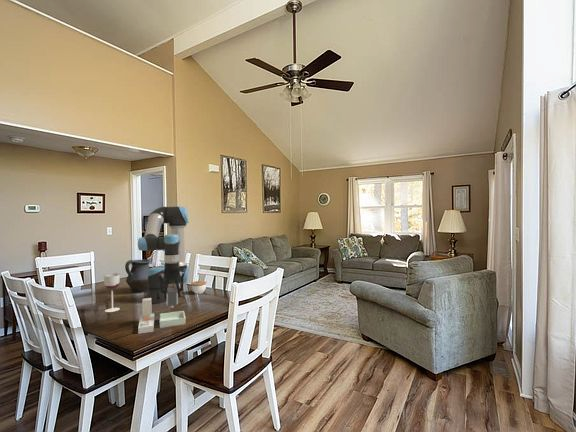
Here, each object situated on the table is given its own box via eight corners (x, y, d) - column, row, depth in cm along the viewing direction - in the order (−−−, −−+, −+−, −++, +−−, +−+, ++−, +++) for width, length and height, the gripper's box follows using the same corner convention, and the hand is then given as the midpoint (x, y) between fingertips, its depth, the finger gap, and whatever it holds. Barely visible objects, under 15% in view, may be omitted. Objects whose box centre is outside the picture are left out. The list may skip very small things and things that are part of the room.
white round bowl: (193, 291, 232) (193, 279, 232) (207, 290, 233) (207, 278, 233) (189, 295, 221) (189, 282, 221) (204, 294, 222) (204, 282, 222)
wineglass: (103, 313, 183) (103, 277, 183) (104, 308, 192) (104, 274, 191) (120, 310, 187) (119, 275, 187) (120, 306, 196) (120, 272, 195)
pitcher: (161, 289, 236) (160, 257, 236) (134, 296, 218) (133, 262, 217) (145, 286, 247) (145, 255, 247) (118, 292, 229) (118, 259, 228)
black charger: (167, 306, 169) (167, 289, 169) (176, 305, 171) (176, 288, 171) (168, 308, 165) (167, 291, 165) (176, 307, 166) (176, 290, 166)
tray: (159, 328, 160) (159, 321, 160) (159, 319, 172) (159, 313, 172) (185, 324, 165) (185, 318, 165) (184, 316, 177) (183, 310, 177)
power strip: (141, 316, 177) (141, 309, 177) (154, 315, 179) (154, 308, 179) (138, 333, 153) (138, 325, 153) (153, 331, 155) (153, 323, 155)
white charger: (143, 315, 171) (142, 298, 170) (151, 314, 172) (151, 297, 172) (142, 318, 166) (142, 301, 166) (151, 317, 168) (151, 300, 168)
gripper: (154, 264, 161) (155, 308, 161) (188, 262, 167) (189, 304, 168) (154, 262, 168) (155, 304, 168) (187, 260, 174) (188, 300, 175)
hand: (172, 304), depth 168 cm, fingers closed on black charger, 4 cm apart
